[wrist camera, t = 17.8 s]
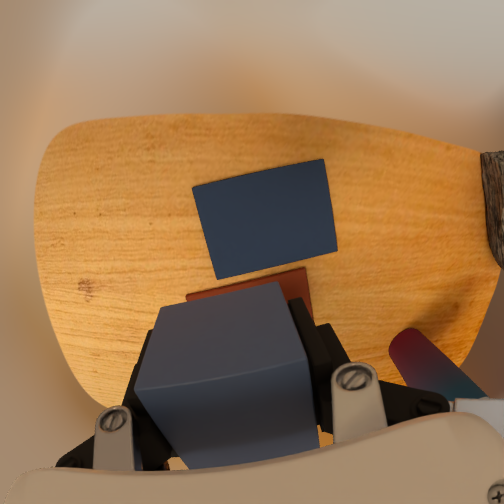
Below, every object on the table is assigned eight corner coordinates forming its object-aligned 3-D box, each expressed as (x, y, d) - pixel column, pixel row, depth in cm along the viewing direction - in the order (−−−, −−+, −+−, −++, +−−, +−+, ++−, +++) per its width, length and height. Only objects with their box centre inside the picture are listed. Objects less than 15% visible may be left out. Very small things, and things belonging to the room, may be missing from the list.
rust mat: (210, 362, 33) (210, 365, 33) (185, 294, 30) (185, 297, 30) (314, 338, 33) (316, 341, 33) (304, 267, 30) (305, 268, 30)
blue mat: (217, 278, 30) (217, 280, 29) (192, 187, 27) (191, 188, 26) (336, 249, 30) (337, 251, 29) (322, 158, 27) (323, 159, 26)
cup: (404, 315, 34) (475, 393, 19) (433, 330, 35) (498, 399, 21) (372, 357, 35) (426, 444, 21) (404, 369, 37) (456, 444, 23)
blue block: (196, 390, 13) (191, 472, 8) (160, 306, 11) (132, 389, 7) (295, 370, 13) (320, 451, 8) (278, 280, 11) (307, 357, 7)
